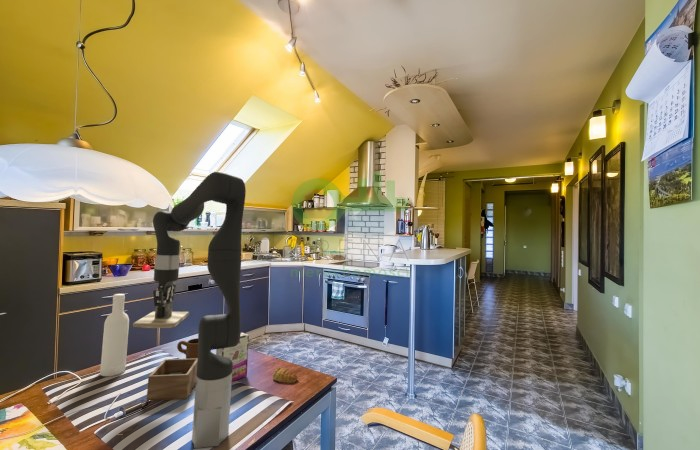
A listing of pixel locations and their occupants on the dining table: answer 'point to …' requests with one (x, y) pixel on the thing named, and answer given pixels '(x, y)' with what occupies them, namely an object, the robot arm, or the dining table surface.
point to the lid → (166, 322)
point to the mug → (189, 348)
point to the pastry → (284, 375)
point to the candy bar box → (237, 356)
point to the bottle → (115, 339)
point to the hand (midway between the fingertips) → (163, 315)
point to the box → (172, 379)
